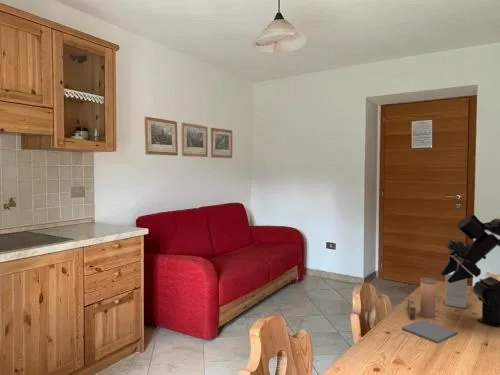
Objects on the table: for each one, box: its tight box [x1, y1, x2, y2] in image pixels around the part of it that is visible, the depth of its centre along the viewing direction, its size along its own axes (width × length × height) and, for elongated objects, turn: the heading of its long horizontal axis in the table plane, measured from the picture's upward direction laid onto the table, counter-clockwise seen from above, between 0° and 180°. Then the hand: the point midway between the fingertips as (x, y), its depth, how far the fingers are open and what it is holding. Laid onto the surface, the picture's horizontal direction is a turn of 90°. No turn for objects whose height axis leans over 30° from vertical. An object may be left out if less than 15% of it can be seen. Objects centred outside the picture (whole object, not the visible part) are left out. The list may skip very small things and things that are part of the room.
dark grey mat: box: [401, 319, 458, 344], centre depth 119 cm, size 12×12×1 cm
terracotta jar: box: [419, 277, 437, 319], centre depth 133 cm, size 5×5×13 cm
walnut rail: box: [407, 296, 416, 320], centre depth 135 cm, size 12×2×4 cm, turn 161°
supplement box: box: [444, 271, 468, 309], centre depth 144 cm, size 7×7×13 cm
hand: (445, 278), depth 130 cm, fingers open, 9 cm apart
